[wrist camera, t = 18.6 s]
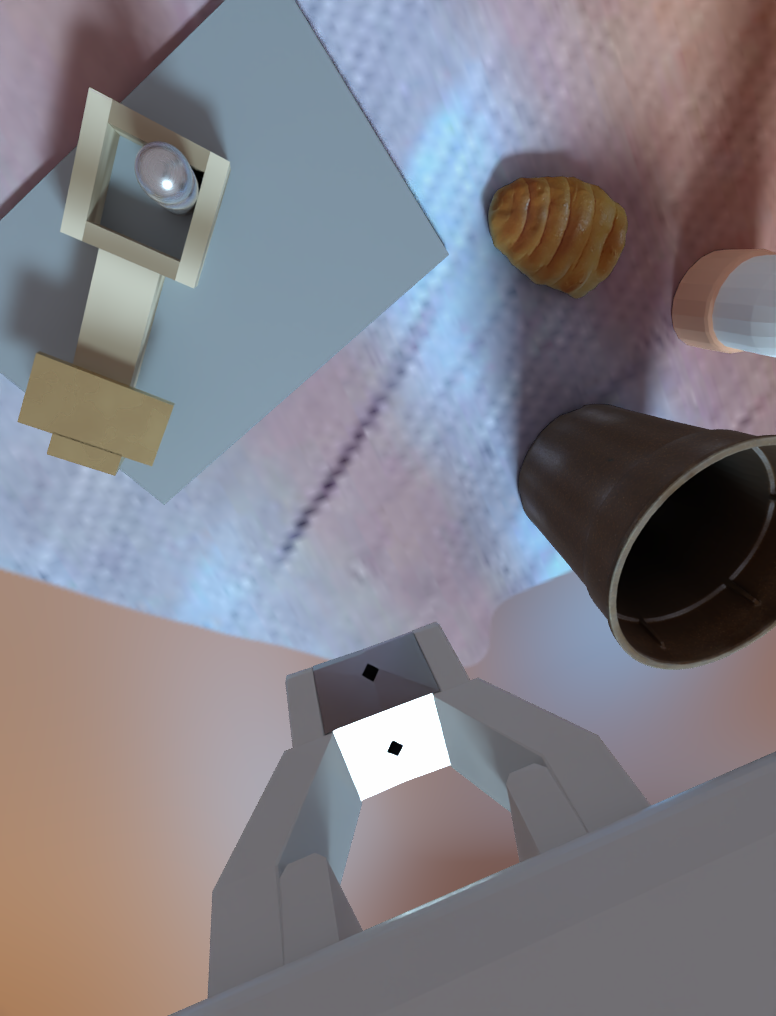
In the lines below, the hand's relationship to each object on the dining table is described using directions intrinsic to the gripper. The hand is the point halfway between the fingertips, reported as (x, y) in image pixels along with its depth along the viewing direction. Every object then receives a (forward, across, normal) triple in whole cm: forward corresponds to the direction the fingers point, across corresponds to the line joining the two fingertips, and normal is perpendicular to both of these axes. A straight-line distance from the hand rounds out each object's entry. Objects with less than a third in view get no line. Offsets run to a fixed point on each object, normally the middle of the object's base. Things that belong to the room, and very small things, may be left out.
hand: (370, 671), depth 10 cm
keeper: (+29, +10, -1) cm, 31 cm away
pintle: (+29, +2, -11) cm, 31 cm away
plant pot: (+29, -22, +15) cm, 40 cm away
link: (+28, +6, -7) cm, 30 cm away
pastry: (+30, -21, -4) cm, 37 cm away
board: (+29, +2, -7) cm, 30 cm away
